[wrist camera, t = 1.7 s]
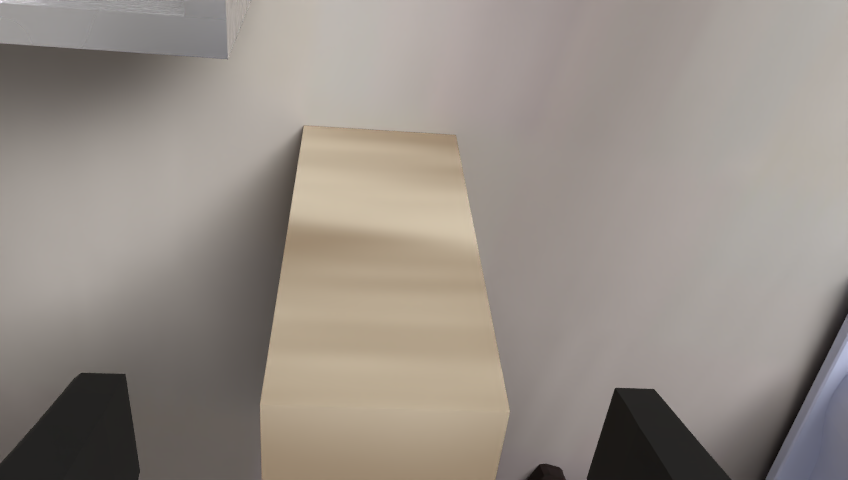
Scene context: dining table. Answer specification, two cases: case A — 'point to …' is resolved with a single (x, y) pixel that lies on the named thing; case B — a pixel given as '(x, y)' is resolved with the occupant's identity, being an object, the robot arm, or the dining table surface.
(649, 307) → the dining table surface
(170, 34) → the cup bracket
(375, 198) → the rail end
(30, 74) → the dining table surface
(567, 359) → the dining table surface
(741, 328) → the dining table surface
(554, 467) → the mate gourd
